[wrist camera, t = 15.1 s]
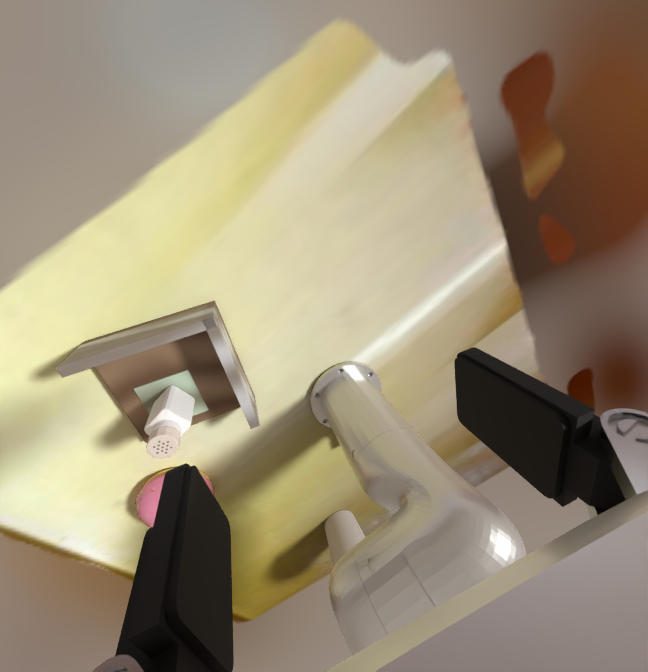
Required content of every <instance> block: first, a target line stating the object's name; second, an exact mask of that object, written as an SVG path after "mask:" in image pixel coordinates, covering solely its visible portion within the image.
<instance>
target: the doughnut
mask: <svg viewBox="0 0 648 672" xmlns="http://www.w3.org/2000/svg"><path fill="white" fill-rule="evenodd" d="M175 468H176V467H175ZM171 469H173V468H170V469H167V470H164V471H161V472H159V473H158V474H156V475H154V476H153V477H152V478H150V479H149V480H148V481H147V482H146V483H145V485H144V486H143V488H142V489H141V490H140V492H139V493H138V496H137V499H136V501H135V502H136V503H135V504H136V507H137V508H136V509H137V513H138V514H137V515H139V517H140V518H141V519H140V520H142V521H143V522H144V523H145V524H146V525H147V526H150V527H151V528H152V527H153V525H154V521H155V516H156V512H157V507H158V503H159V499H160V494H161V490H162V485H163V481H164V476H165V473H166V472H167V471H169V470H171ZM199 472H200V474H201V475H202V477H203V479H204V480H205V482H206V484H207V485H208V487H209V489H210V490H211V492H212V494H213V495H214V489H213V485H212V482H211V480H210V479H209V477H208V476H207V475H206V474H204V473H203V472H201V471H200V470H199Z"/></svg>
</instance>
